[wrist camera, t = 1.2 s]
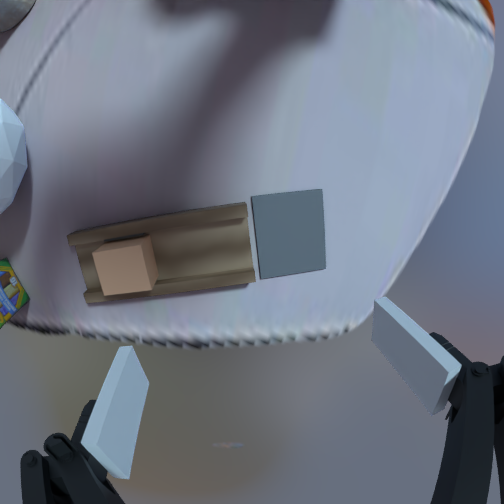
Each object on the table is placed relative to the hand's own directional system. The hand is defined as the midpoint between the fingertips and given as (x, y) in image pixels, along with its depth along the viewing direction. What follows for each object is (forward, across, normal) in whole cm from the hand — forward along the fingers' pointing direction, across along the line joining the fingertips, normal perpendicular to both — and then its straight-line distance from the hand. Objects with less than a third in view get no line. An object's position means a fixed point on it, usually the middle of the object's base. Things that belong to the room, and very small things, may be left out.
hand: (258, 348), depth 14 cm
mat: (+27, +8, -2) cm, 28 cm away
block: (+26, -15, -1) cm, 30 cm away
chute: (+27, -11, -1) cm, 29 cm away
